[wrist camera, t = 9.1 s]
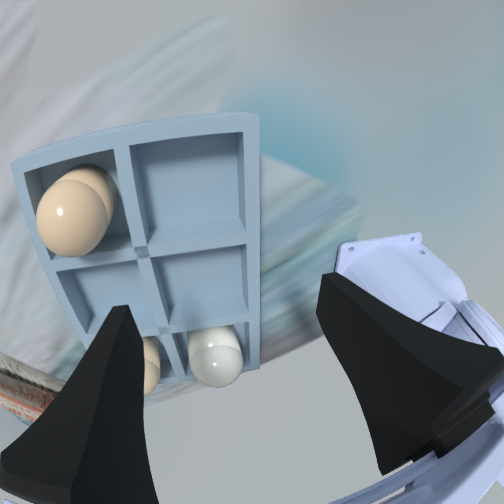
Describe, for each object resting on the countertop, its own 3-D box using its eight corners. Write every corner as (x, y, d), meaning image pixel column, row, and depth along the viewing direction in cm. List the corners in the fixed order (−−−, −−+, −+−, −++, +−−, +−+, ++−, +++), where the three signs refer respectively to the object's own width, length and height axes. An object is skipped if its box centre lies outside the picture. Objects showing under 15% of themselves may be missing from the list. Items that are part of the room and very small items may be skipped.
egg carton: (245, 111, 15) (258, 115, 13) (251, 343, 26) (259, 368, 24) (33, 150, 13) (10, 162, 10) (113, 361, 23) (111, 387, 21)
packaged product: (92, 423, 22) (82, 445, 25) (95, 386, 26) (84, 416, 29) (-50, 358, 13) (-34, 397, 17) (-36, 327, 17) (-25, 369, 21)
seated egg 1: (152, 323, 21) (152, 376, 17) (164, 354, 23) (167, 403, 19) (106, 328, 20) (99, 379, 16) (122, 359, 22) (120, 406, 18)
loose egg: (112, 157, 14) (85, 185, 10) (124, 221, 16) (108, 267, 12) (52, 171, 13) (13, 204, 9) (68, 231, 15) (40, 277, 11)
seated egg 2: (233, 312, 22) (247, 363, 18) (236, 344, 24) (249, 391, 20) (182, 320, 21) (187, 372, 17) (191, 351, 23) (197, 400, 19)
